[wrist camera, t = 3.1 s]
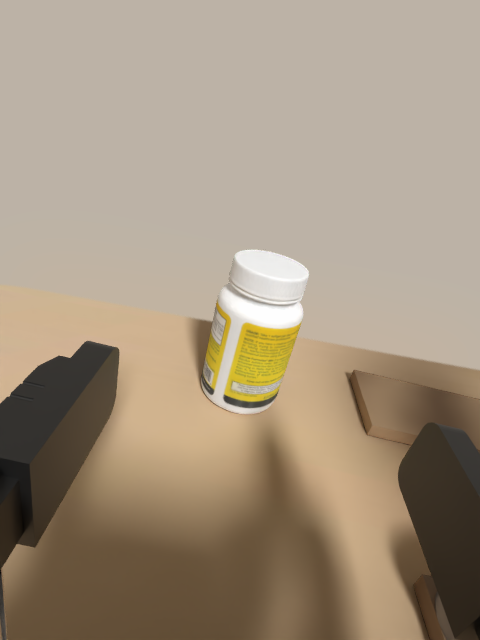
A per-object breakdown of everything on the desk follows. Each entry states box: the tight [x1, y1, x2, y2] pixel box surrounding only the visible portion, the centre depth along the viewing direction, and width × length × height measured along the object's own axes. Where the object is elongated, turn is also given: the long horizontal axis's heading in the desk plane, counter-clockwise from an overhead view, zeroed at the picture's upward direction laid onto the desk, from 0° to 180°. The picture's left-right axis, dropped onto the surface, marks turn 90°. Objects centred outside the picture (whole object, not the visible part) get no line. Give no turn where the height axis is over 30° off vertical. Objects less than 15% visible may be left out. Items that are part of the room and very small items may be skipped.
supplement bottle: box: [201, 250, 309, 414], centre depth 21 cm, size 5×5×8 cm
